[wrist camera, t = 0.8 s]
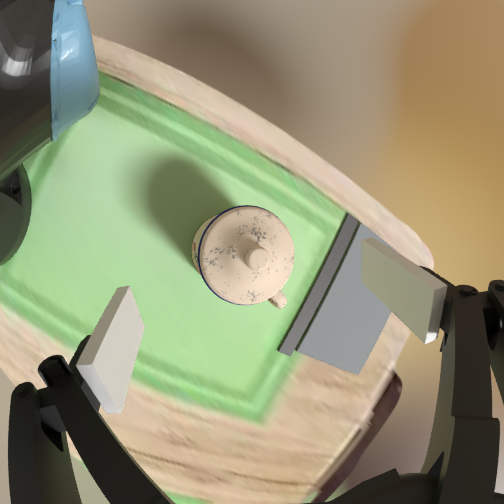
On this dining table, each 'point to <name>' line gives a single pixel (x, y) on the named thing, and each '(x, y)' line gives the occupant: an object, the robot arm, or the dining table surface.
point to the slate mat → (347, 314)
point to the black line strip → (319, 286)
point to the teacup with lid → (244, 255)
